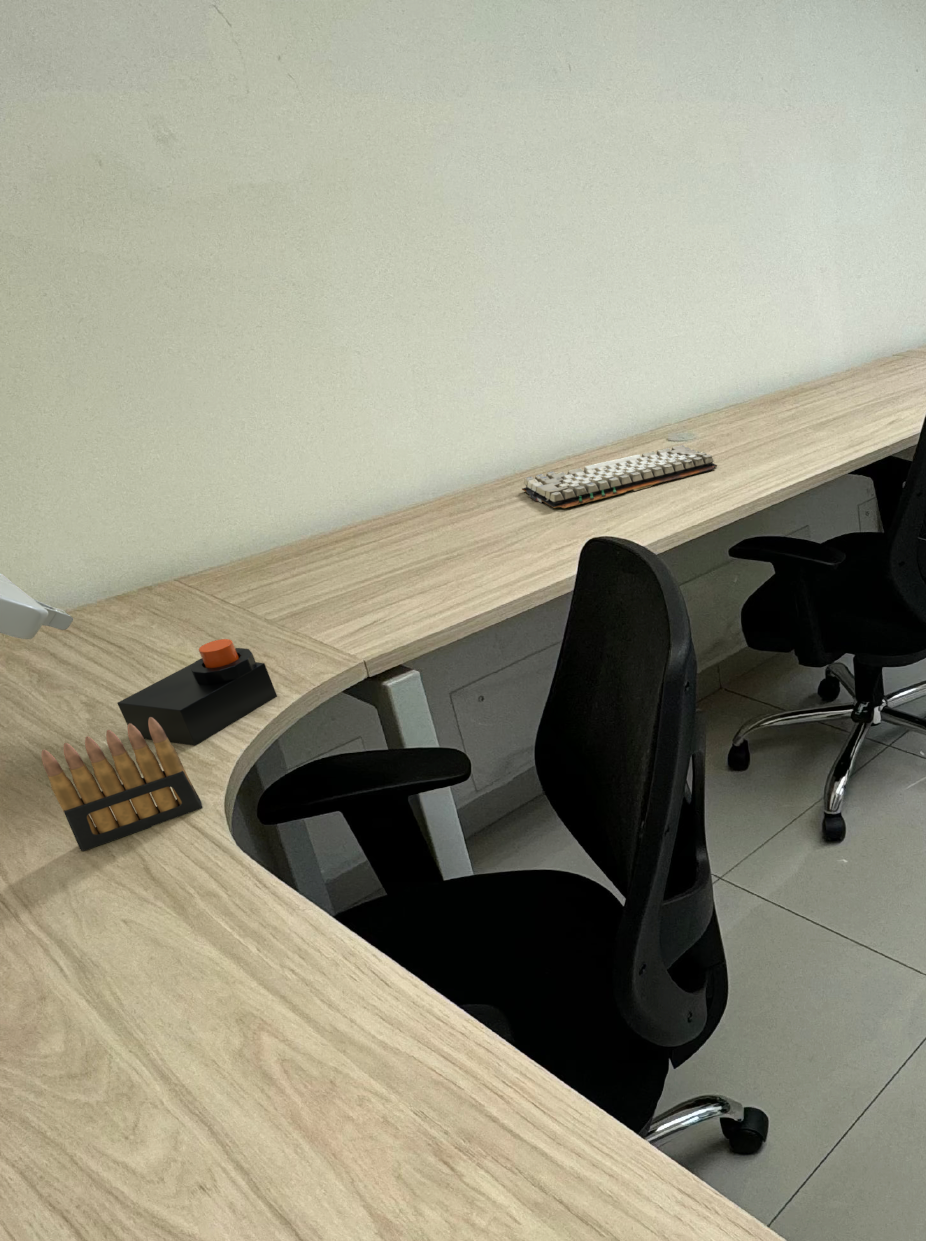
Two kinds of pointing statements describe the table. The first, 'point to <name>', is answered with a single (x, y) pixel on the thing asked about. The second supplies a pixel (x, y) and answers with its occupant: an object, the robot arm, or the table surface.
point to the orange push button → (218, 653)
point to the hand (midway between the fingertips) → (67, 621)
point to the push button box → (200, 699)
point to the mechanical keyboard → (616, 476)
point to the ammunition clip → (121, 787)
